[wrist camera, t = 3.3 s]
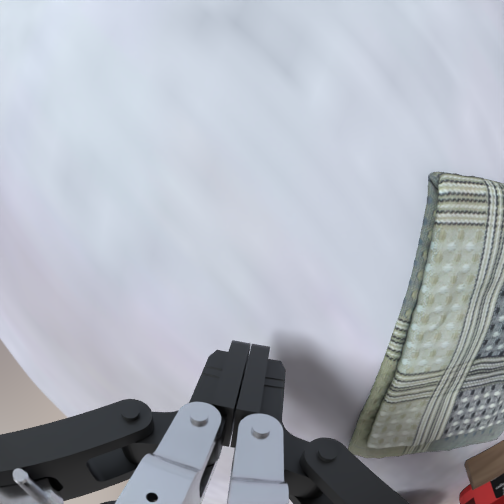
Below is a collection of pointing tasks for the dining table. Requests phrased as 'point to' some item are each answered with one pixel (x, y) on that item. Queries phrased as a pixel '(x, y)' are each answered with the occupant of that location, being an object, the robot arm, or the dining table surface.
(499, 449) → the towel holder
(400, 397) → the dish towel
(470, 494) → the canned food
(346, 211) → the dining table surface
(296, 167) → the dining table surface
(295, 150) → the dining table surface
